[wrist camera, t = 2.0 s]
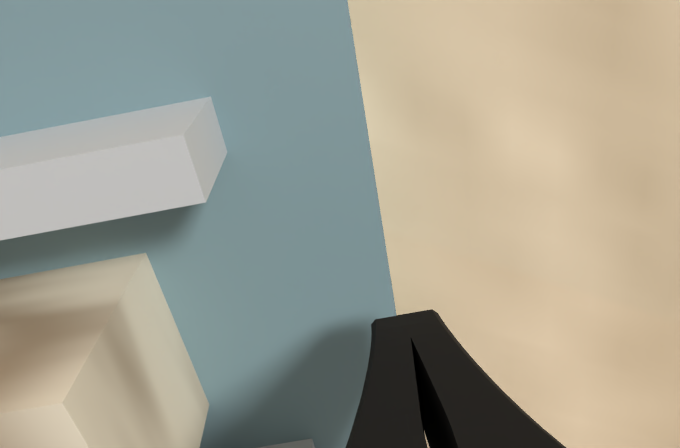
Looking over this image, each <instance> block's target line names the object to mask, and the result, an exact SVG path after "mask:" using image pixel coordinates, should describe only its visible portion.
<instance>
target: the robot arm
mask: <svg viewBox="0 0 680 448" xmlns="http://www.w3.org/2000/svg"><path fill="white" fill-rule="evenodd" d="M424 431H425V434H426V437H427V440H428V443H429V446H430V448H566V447H565V446H563V445H562V444H561V443H560V442H559V441H557V440H556V439H555V438H554V437H553V436H551V435H550V434H549V433H548V432H547V431H545V430H544V429H543V428H542V427H541V426H540V425H539V424H537V423H536V422H535V421H534V420H533V419H532V418H531V417H530V416H529V415H527V414H526V413H525V412H524V411H523V410H522V409H521V408H520V407H519V406H518V405H517V404H516V403H515V402H514V401H513V400H512V399H511V398H510V397H508V396H507V395H506V394H505V393H504V392H503V391H502V390H501V389H500V388H499V387H498V386H497V385H496V384H495V382H494V381H493V380H492V379H491V378H490V377H489V376H488V375H487V374H486V373H485V372H484V371H483V370H482V368H481V367H480V366H479V365H478V364H477V363H476V362H475V361H474V360H473V359H472V357H471V356H470V355H469V354H468V353H467V352H466V350H465V349H464V348H463V347H462V346H461V344H460V343H459V342H458V341H457V339H456V338H455V337H454V336H453V334H452V333H451V332H450V330H449V329H448V328H447V326H446V325H445V324H444V322H443V321H442V319H441V318H440V316H439V314H438V313H437V312H435V311H434V310H426V311H420V312H415V313H409V314H403V315H397V316H391V317H386V318H380V319H375V320H374V322H373V323H372V324H371V348H370V355H369V362H368V368H367V372H366V377H365V382H364V386H363V391H362V395H361V399H360V403H359V406H358V409H357V413H356V416H355V419H354V423H353V426H352V430H351V433H350V436H349V439H348V442H347V445H346V447H345V448H427V444H426V440H425V434H424Z"/></svg>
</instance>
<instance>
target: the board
mask: <svg viewBox="0 0 680 448" xmlns="http://www.w3.org/2000/svg"><path fill="white" fill-rule="evenodd" d="M142 253H146V254H147V256H148V259H149V261H150V264H151V266H152V268H153V271H154V273H155V276H156V278H157V280H158V283H159V285H160V288H161V290H162V292H163V295H164V297H165V300H166V302H167V304H168V307H169V309H170V312H171V314H172V316H173V319H174V321H175V324H176V326H177V328H178V331H179V333H180V336H181V338H182V340H183V343H184V345H185V348H186V350H187V352H188V355H189V357H190V360H191V362H192V364H193V367H194V369H195V372H196V374H197V376H198V379H199V381H200V384H201V386H202V388H203V391H204V393H205V396H206V398H207V400H208V403H209V408H208V413H207V417H206V421H205V426H204V430H203V435H202V439H201V444H200V448H345V447H346V445H347V442H348V439H349V436H350V433H351V430H352V426H353V423H354V419H355V416H356V413H357V409H358V406H359V403H360V399H361V395H362V391H363V386H364V382H365V377H366V372H367V368H368V362H369V355H370V348H371V324H372V323H373V322H374V320H375V319H380V318H386V317H391V316H396V310H395V303H394V297H393V290H392V284H391V278H390V271H389V265H388V258H387V252H386V246H385V239H384V233H383V226H382V220H381V214H380V207H379V201H378V194H377V188H376V182H375V175H374V169H373V162H372V156H371V150H370V143H369V137H368V130H367V124H366V118H365V111H364V105H363V98H362V92H361V86H360V79H359V73H358V66H357V60H356V54H355V47H354V41H353V34H352V28H351V22H350V15H349V9H348V2H347V0H0V279H5V278H10V277H16V276H21V275H27V274H32V273H38V272H43V271H49V270H54V269H60V268H65V267H71V266H76V265H82V264H87V263H93V262H98V261H104V260H109V259H115V258H120V257H126V256H131V255H136V254H142Z"/></svg>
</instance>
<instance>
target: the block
mask: <svg viewBox="0 0 680 448" xmlns="http://www.w3.org/2000/svg"><path fill="white" fill-rule="evenodd" d="M208 408H209V403H208V400H207V398H206V396H205V393H204V391H203V388H202V386H201V384H200V381H199V379H198V376H197V374H196V372H195V369H194V367H193V364H192V362H191V360H190V357H189V355H188V352H187V350H186V348H185V345H184V343H183V340H182V338H181V336H180V333H179V331H178V328H177V326H176V324H175V321H174V319H173V316H172V314H171V312H170V309H169V307H168V304H167V302H166V300H165V297H164V295H163V292H162V290H161V288H160V285H159V283H158V280H157V278H156V276H155V273H154V271H153V268H152V266H151V264H150V261H149V259H148V256H147V254H146V253H142V254H136V255H131V256H126V257H120V258H115V259H109V260H104V261H98V262H93V263H87V264H82V265H76V266H71V267H65V268H60V269H54V270H49V271H43V272H38V273H32V274H27V275H21V276H16V277H10V278H5V279H0V448H200V444H201V439H202V435H203V430H204V426H205V421H206V417H207V413H208Z"/></svg>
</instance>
